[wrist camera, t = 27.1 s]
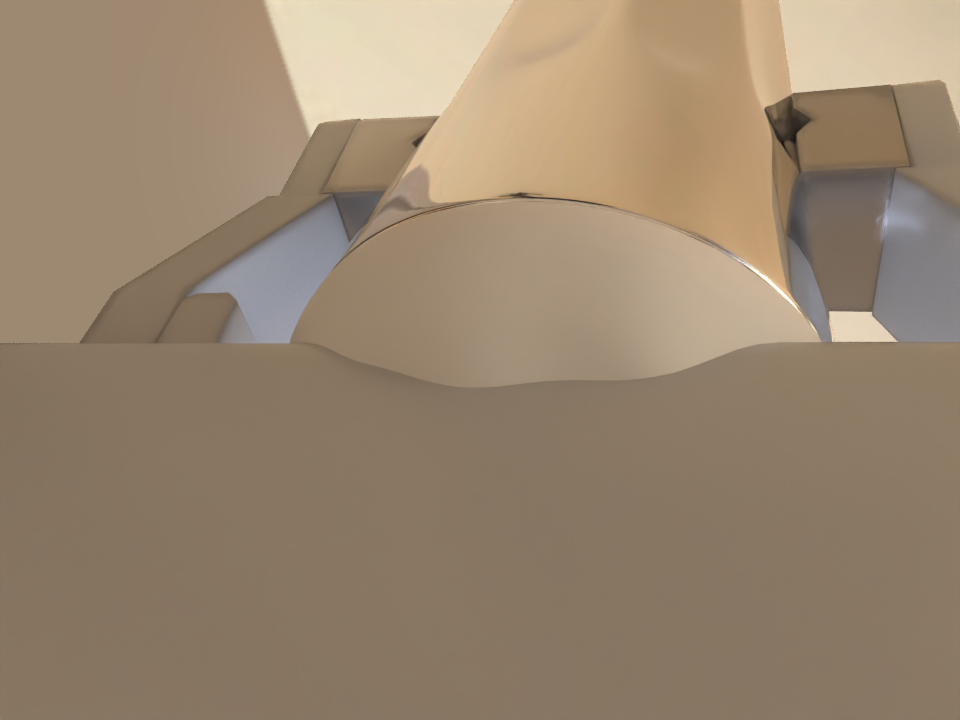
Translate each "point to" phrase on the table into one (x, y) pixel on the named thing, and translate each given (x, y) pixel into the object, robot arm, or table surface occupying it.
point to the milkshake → (590, 206)
